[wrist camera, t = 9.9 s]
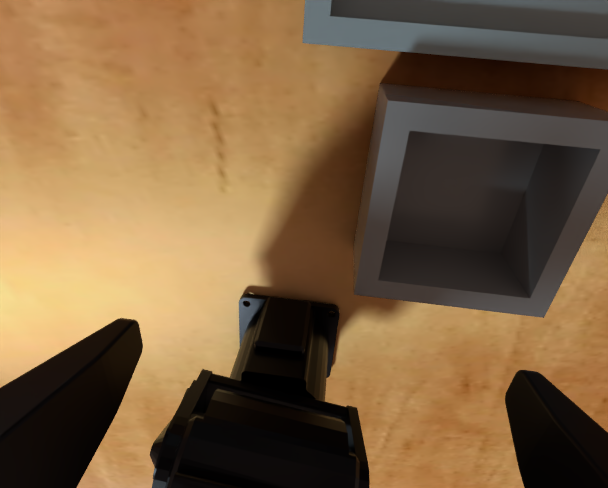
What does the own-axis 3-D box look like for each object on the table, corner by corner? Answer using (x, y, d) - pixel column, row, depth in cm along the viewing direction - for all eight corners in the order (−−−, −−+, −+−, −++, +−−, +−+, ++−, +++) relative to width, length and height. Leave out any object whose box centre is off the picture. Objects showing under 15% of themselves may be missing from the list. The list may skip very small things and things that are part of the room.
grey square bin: (509, 265, 22) (543, 317, 18) (353, 247, 22) (354, 294, 19) (578, 101, 17) (643, 124, 14) (379, 83, 18) (387, 100, 14)
